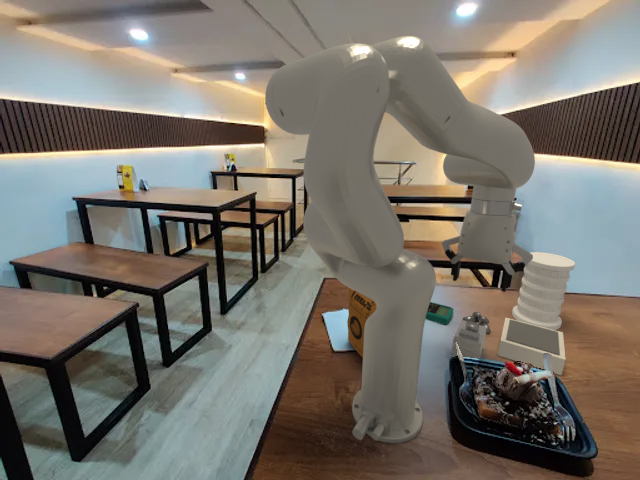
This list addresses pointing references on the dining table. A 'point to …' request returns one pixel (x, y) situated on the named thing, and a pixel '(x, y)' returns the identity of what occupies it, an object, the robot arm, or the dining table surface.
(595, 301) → the dining table surface
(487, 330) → the bolt
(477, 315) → the bolt
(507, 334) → the stand
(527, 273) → the decorative container
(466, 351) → the housing
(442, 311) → the digital multimeter
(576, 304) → the dining table surface
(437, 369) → the dining table surface
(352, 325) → the coffee package
